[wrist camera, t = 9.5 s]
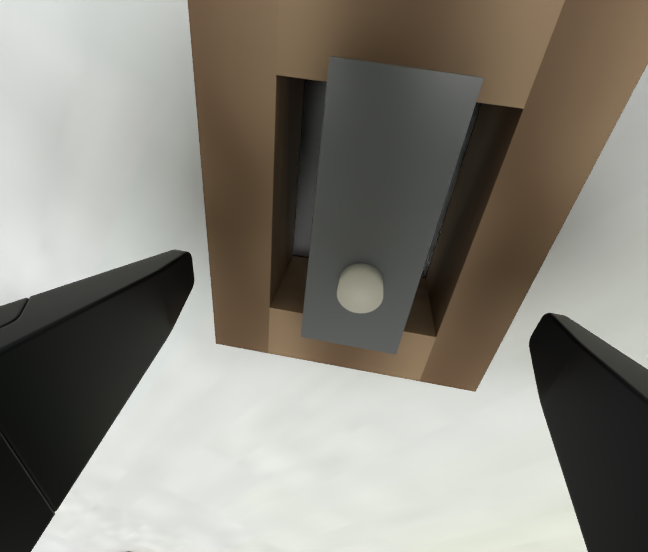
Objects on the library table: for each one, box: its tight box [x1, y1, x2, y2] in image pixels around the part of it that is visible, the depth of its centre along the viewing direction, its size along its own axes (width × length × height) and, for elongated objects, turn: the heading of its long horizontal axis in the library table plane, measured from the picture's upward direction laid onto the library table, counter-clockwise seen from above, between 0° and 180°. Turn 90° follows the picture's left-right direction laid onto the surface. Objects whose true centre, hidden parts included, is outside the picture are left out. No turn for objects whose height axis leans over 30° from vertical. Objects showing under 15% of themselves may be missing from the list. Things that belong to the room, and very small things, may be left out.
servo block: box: [301, 56, 484, 355], centre depth 14 cm, size 4×10×6 cm, turn 173°
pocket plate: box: [188, 0, 648, 391], centre depth 14 cm, size 12×14×4 cm
